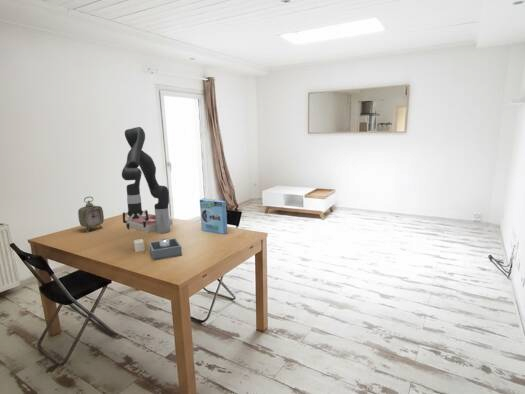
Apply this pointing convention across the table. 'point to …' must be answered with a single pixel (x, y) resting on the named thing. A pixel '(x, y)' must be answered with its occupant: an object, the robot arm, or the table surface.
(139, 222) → the product packaging
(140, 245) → the cream box
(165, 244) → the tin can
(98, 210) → the tabletop clock
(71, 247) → the table surface
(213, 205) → the gum box
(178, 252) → the tote
